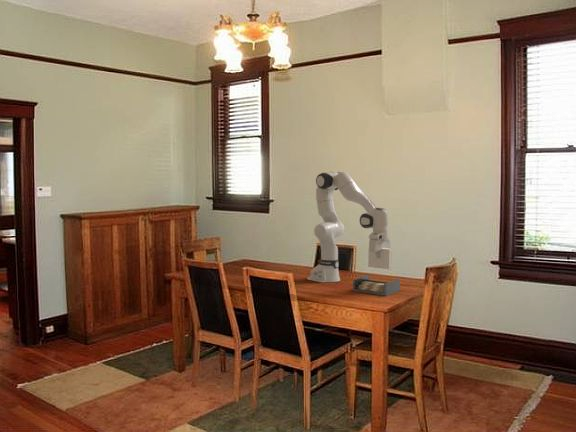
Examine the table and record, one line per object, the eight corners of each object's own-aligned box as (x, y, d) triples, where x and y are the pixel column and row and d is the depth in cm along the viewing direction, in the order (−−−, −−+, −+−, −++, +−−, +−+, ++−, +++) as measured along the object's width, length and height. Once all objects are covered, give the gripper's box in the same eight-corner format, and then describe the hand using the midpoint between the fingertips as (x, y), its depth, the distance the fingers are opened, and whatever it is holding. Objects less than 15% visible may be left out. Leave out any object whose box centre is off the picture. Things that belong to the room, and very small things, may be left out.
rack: (352, 291, 324) (353, 279, 324) (367, 286, 338) (367, 275, 338) (386, 296, 311) (386, 284, 310) (400, 290, 325) (400, 279, 325)
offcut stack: (358, 288, 324) (358, 282, 323) (363, 287, 328) (363, 280, 328) (382, 292, 314) (382, 285, 314) (387, 290, 318) (387, 284, 318)
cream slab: (368, 266, 330) (368, 247, 329) (370, 266, 332) (371, 246, 331) (388, 269, 322) (389, 249, 320) (391, 268, 324) (391, 248, 323)
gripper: (383, 233, 335) (383, 255, 337) (367, 236, 319) (366, 259, 320) (392, 233, 332) (392, 256, 333) (376, 236, 315) (376, 260, 317)
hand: (379, 257), depth 326 cm, fingers closed on cream slab, 3 cm apart
